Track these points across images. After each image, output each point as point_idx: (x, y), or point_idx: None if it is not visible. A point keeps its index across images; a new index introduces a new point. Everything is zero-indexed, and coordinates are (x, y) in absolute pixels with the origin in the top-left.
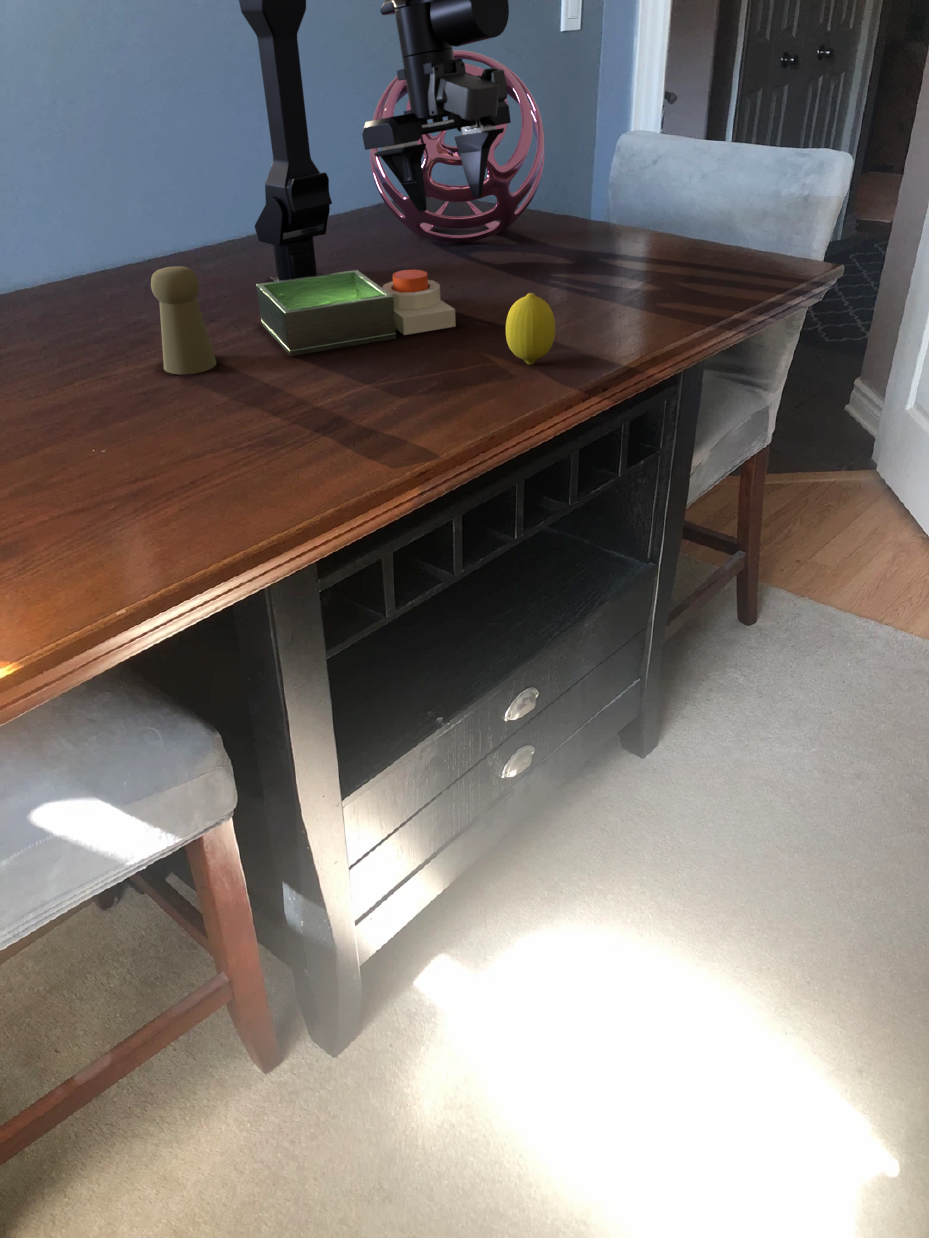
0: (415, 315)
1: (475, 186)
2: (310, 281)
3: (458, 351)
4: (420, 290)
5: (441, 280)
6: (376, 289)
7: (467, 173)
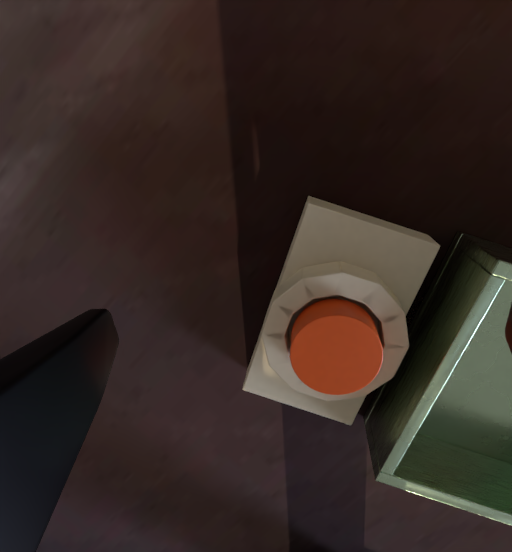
0: (407, 237)
1: (89, 355)
2: (492, 503)
3: (434, 48)
4: (339, 302)
5: (127, 433)
6: (469, 341)
7: (64, 455)
